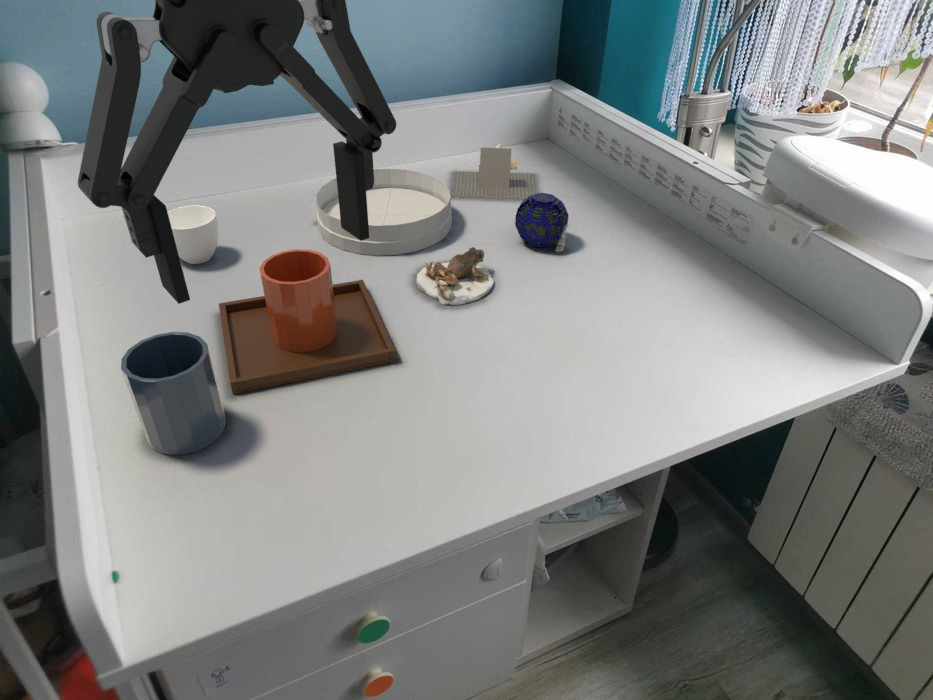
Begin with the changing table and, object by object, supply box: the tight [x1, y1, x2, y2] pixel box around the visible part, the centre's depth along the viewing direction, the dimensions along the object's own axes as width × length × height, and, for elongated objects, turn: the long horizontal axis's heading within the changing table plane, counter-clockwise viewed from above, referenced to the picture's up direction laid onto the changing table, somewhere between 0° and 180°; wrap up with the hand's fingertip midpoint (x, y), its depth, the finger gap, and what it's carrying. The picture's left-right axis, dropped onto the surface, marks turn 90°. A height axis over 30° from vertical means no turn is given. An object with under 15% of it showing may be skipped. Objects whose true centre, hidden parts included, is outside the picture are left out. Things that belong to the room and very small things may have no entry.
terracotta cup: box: [259, 248, 337, 352], centre depth 87 cm, size 8×8×10 cm
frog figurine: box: [415, 246, 495, 306], centre depth 101 cm, size 12×12×4 cm
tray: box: [218, 279, 397, 395], centre depth 90 cm, size 20×18×2 cm
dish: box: [315, 168, 453, 257], centre depth 115 cm, size 22×22×5 cm
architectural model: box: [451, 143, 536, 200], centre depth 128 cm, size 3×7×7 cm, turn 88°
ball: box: [514, 192, 570, 253], centre depth 110 cm, size 8×8×8 cm
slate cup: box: [120, 331, 227, 456], centre depth 73 cm, size 8×8×10 cm
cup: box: [167, 204, 220, 265], centre depth 104 cm, size 8×10×7 cm
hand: (272, 261), depth 49 cm, fingers open, 13 cm apart
